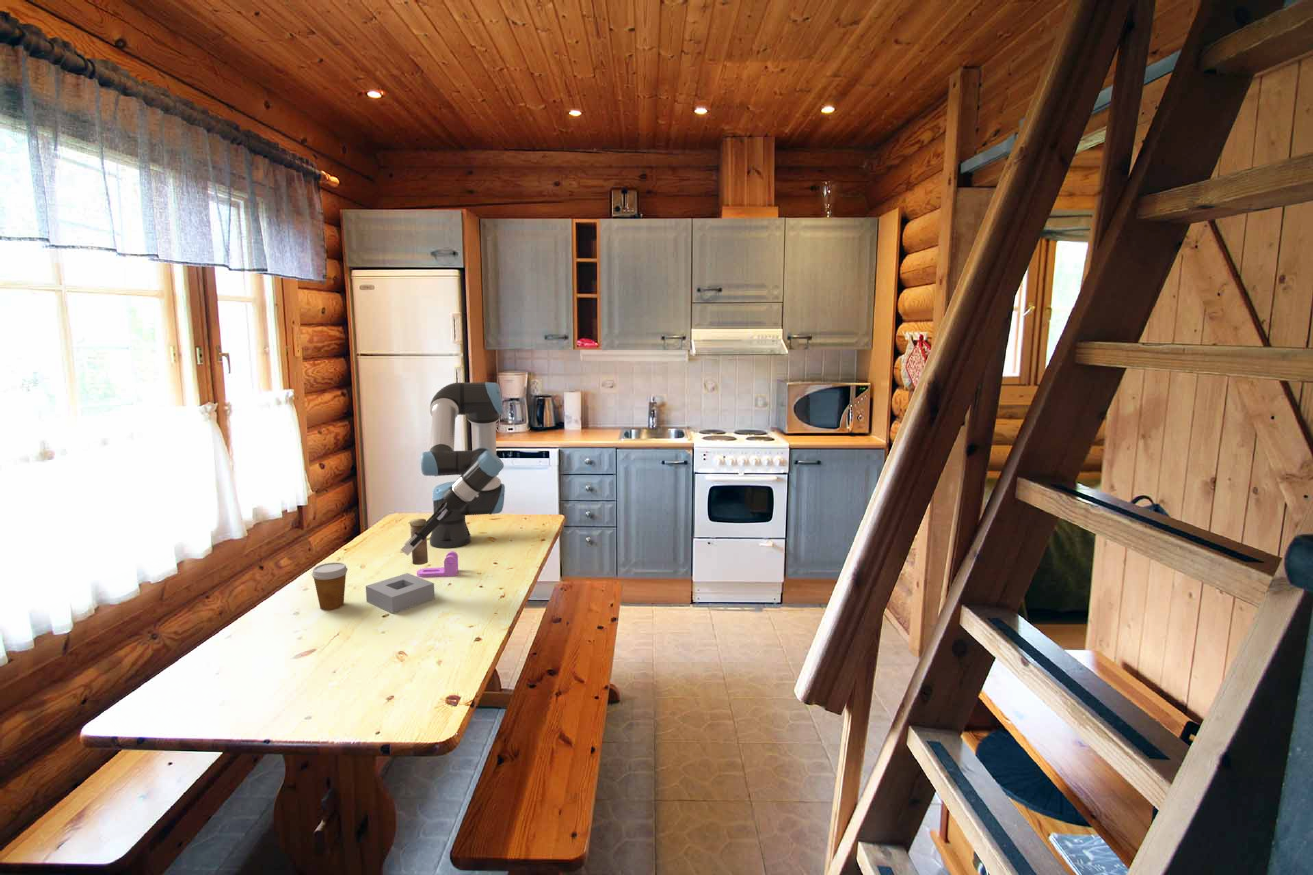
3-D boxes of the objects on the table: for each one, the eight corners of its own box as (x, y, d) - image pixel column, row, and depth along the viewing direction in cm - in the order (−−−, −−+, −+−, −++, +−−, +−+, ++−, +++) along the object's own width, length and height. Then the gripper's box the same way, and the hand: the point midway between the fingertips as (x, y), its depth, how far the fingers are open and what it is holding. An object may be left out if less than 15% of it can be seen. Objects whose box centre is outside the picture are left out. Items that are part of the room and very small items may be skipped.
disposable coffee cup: (356, 602, 199) (354, 564, 197) (331, 614, 190) (329, 574, 188) (331, 597, 202) (329, 560, 200) (306, 609, 193) (303, 570, 191)
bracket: (458, 570, 227) (457, 551, 226) (456, 576, 221) (455, 556, 220) (418, 572, 225) (417, 552, 224) (415, 578, 219) (414, 558, 218)
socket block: (366, 601, 199) (365, 585, 198) (408, 587, 210) (407, 572, 209) (392, 613, 191) (391, 597, 190) (434, 598, 202) (434, 583, 201)
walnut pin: (409, 562, 199) (406, 521, 197) (422, 558, 203) (419, 517, 201) (418, 565, 197) (415, 523, 195) (431, 561, 200) (429, 520, 198)
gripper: (466, 509, 191) (410, 567, 191) (473, 495, 208) (421, 548, 208) (446, 492, 189) (389, 550, 189) (454, 479, 206) (402, 532, 206)
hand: (406, 549), depth 199 cm, fingers closed on walnut pin, 4 cm apart
